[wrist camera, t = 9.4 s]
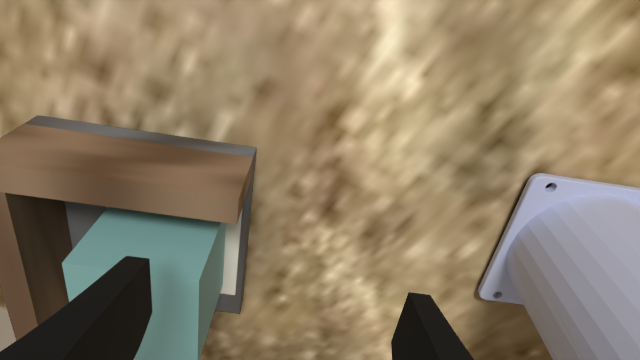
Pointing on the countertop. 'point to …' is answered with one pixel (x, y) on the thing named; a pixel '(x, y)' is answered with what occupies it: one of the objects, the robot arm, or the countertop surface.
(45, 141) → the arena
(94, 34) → the countertop surface
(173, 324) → the teal block
